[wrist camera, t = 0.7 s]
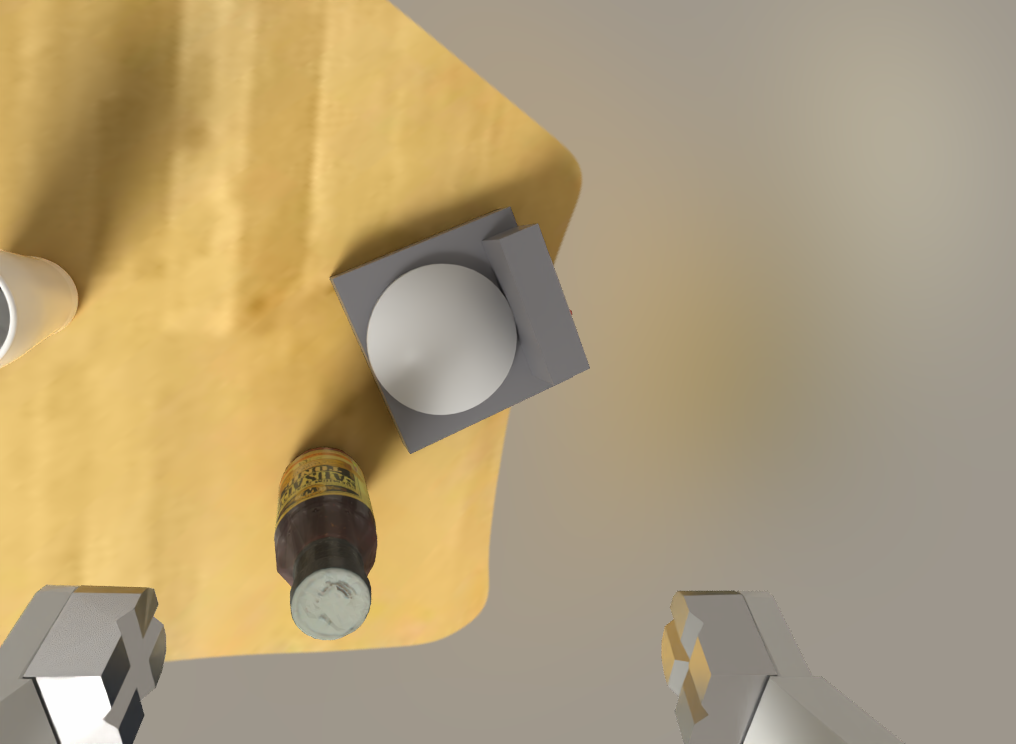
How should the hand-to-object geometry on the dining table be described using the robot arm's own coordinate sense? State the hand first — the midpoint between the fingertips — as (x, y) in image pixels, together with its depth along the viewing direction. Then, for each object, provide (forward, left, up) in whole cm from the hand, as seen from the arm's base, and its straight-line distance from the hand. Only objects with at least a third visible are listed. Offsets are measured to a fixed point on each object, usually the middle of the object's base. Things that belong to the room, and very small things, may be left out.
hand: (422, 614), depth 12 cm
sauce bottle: (+11, -4, -45) cm, 46 cm away
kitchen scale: (+4, +10, -44) cm, 46 cm away
